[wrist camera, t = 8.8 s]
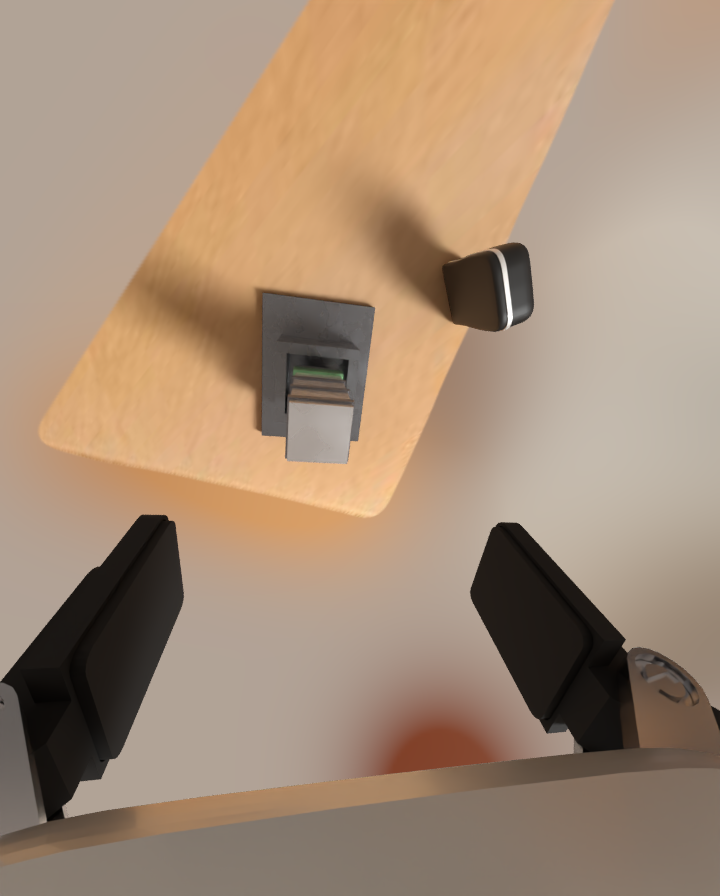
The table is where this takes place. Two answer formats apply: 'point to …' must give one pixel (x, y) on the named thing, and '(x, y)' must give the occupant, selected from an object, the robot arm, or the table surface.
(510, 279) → the battery charger
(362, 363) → the stand
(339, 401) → the column
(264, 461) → the table surface
